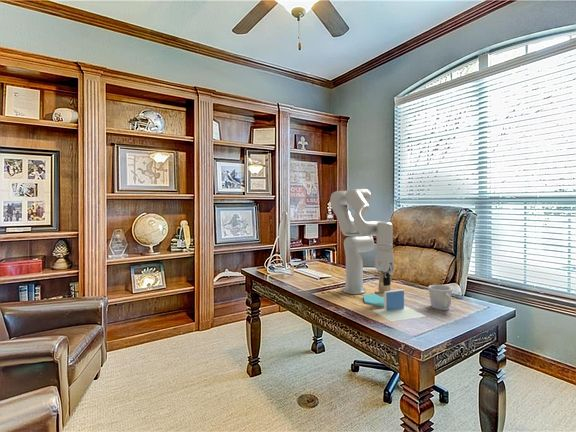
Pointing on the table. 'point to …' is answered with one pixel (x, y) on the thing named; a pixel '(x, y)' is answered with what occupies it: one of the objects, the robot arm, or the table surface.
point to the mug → (440, 296)
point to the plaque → (374, 299)
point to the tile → (393, 300)
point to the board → (399, 314)
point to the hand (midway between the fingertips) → (384, 284)
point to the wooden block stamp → (382, 285)
